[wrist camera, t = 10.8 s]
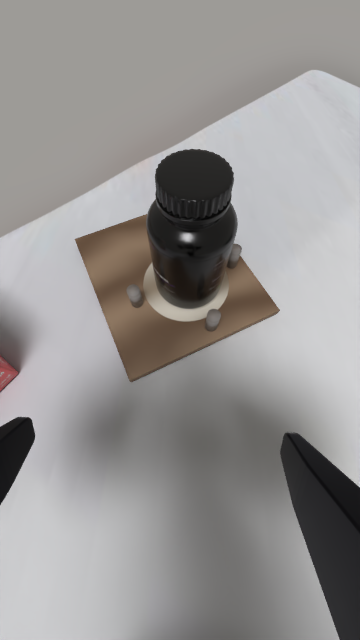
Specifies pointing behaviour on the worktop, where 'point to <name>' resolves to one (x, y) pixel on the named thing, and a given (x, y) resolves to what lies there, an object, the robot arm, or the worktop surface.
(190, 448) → the worktop surface
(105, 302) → the plate
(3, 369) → the ink cartridge box
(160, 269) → the supplement bottle
